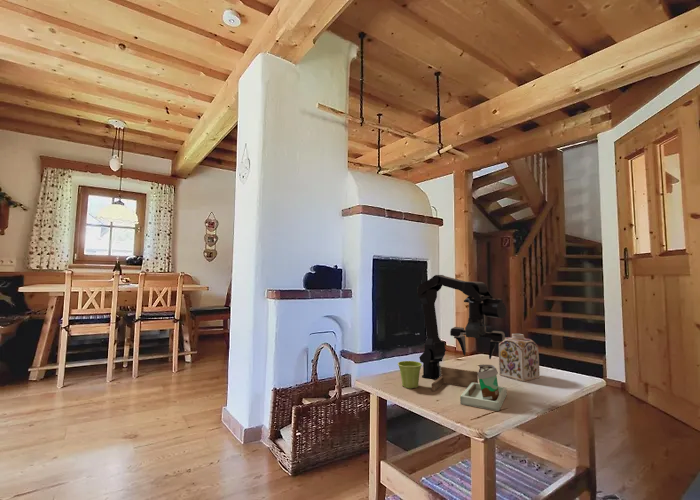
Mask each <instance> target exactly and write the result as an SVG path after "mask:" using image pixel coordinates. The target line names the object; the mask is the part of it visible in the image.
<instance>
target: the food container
mask: <svg viewBox="0 0 700 500" xmlns="http://www.w3.org/2000/svg"><path fill="white" fill-rule="evenodd" d="M478 366H479V369H478V371H476V372H477V373H478V383H480V387H481V391H482V396H483V399H485V400H491V401H495V400H497V398H498V396H499V389H498V386H499V385H498V374H499V370H498V369H497V368H496V366H495V365H493V364H479V365H478Z"/></svg>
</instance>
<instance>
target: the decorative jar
mask: <svg viewBox="0 0 700 500" xmlns="http://www.w3.org/2000/svg"><path fill="white" fill-rule="evenodd" d="M539 352H540V351H539V346H538V344H537V343H536V341H534V340H532V339H531V338H528V337H527V338H526V337H525V335H524V334H522V333H511V336H508V337H506V336H505V340H504V341H502V342H500V343H498V369H499V370H498V374H499V375H500V376H502V377H505V378H508V379H512V380H515V381H520V382H523V383H525V382H529V381H533V380H536V379H539V378H540V372H541V371H540V355H539Z"/></svg>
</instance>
